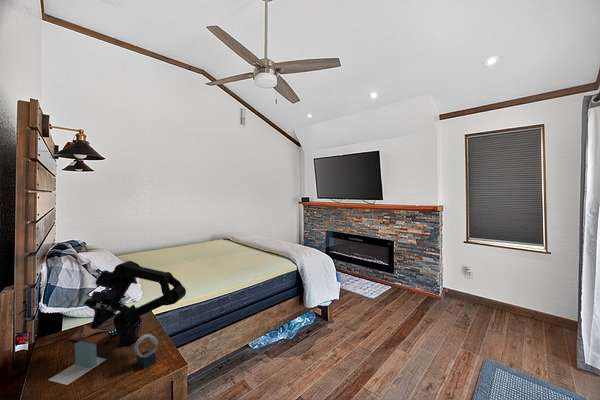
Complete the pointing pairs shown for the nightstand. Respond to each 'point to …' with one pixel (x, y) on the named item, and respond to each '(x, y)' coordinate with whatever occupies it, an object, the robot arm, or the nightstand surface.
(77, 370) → the felt mat
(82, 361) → the teal tile
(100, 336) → the sunglasses case
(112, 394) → the nightstand surface
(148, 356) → the watch
